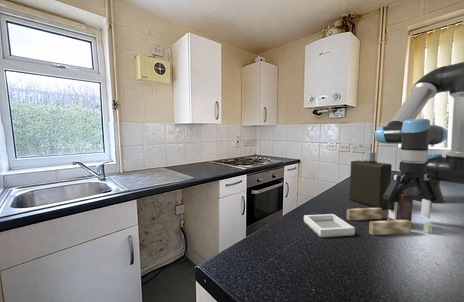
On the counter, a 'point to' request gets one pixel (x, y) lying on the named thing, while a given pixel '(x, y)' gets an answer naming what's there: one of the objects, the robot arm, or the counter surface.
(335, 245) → the counter surface
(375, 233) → the channel
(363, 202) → the bottle
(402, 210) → the box
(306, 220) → the tray
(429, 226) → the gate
